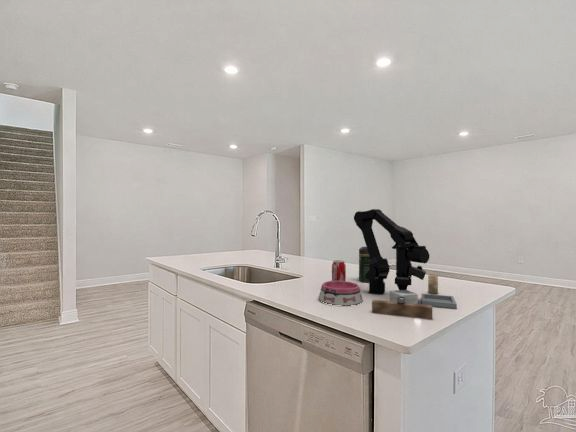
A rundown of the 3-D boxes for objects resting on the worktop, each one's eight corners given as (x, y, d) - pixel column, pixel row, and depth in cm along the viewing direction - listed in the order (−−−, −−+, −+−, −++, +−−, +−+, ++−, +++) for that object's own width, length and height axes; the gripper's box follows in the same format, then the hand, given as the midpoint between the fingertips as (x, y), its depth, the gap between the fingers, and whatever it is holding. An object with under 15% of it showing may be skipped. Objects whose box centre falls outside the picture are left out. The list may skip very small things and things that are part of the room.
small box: (406, 301, 126) (406, 289, 126) (418, 307, 118) (418, 294, 118) (389, 302, 124) (389, 290, 124) (399, 308, 117) (399, 295, 117)
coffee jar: (375, 283, 161) (375, 247, 161) (360, 282, 162) (360, 247, 162) (372, 279, 171) (372, 245, 171) (358, 278, 172) (358, 245, 172)
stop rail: (372, 312, 112) (371, 296, 112) (373, 310, 115) (373, 294, 115) (432, 319, 104) (432, 301, 104) (432, 316, 107) (431, 299, 107)
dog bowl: (371, 299, 130) (371, 283, 130) (348, 309, 116) (347, 291, 116) (334, 292, 142) (334, 278, 142) (309, 301, 129) (309, 284, 129)
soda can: (345, 286, 154) (345, 262, 154) (331, 285, 156) (331, 262, 156) (345, 283, 161) (345, 260, 161) (332, 282, 162) (332, 260, 162)
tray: (421, 305, 120) (421, 300, 120) (421, 298, 131) (421, 293, 131) (456, 309, 116) (456, 303, 116) (453, 301, 127) (453, 296, 127)
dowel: (428, 293, 138) (428, 276, 138) (428, 291, 142) (428, 274, 142) (438, 294, 137) (438, 276, 137) (437, 292, 141) (437, 275, 141)
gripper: (425, 264, 117) (425, 305, 117) (423, 258, 134) (423, 293, 134) (394, 263, 121) (394, 302, 121) (396, 257, 138) (396, 291, 138)
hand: (403, 297), depth 128 cm, fingers closed
